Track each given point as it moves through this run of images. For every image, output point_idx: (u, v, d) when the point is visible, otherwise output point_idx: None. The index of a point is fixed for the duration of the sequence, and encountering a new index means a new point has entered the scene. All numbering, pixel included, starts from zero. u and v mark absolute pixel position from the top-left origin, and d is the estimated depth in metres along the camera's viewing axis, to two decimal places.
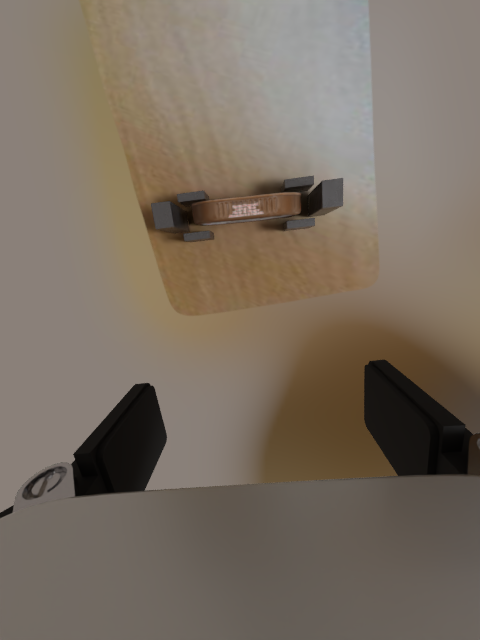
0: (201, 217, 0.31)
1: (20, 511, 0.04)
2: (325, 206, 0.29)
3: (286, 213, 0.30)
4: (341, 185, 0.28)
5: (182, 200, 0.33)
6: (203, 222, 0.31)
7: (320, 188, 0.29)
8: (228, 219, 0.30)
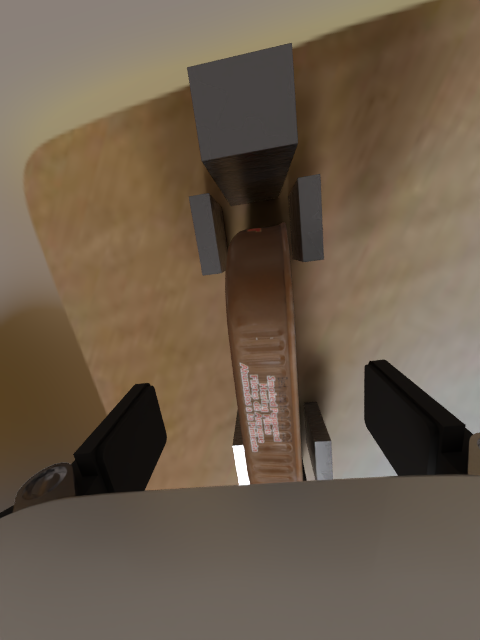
0: (243, 267, 0.09)
1: (20, 511, 0.04)
2: None
3: None
4: None
5: (301, 192, 0.11)
6: (227, 275, 0.09)
7: None
8: (234, 361, 0.10)
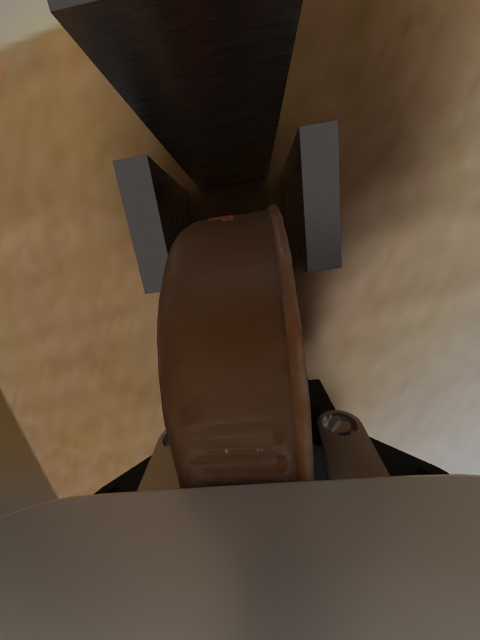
0: (194, 293, 0.04)
1: (20, 511, 0.04)
2: None
3: None
4: None
5: (305, 153, 0.06)
6: (161, 309, 0.04)
7: None
8: None
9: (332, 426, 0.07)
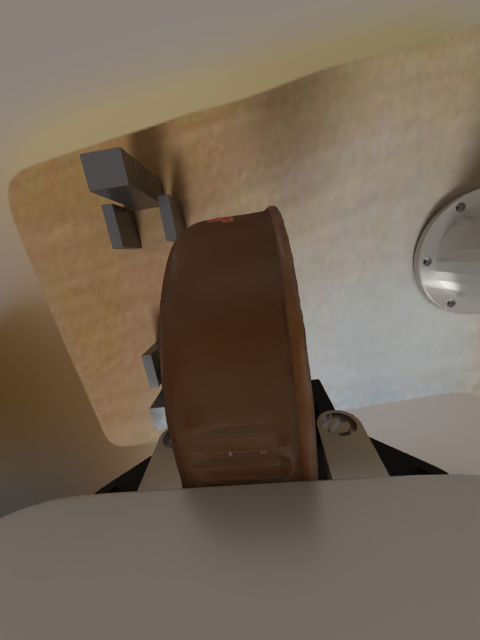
0: (195, 295, 0.04)
1: (20, 511, 0.04)
2: (152, 411, 0.23)
3: None
4: None
5: (160, 203, 0.21)
6: (163, 312, 0.04)
7: None
8: None
9: (332, 426, 0.07)
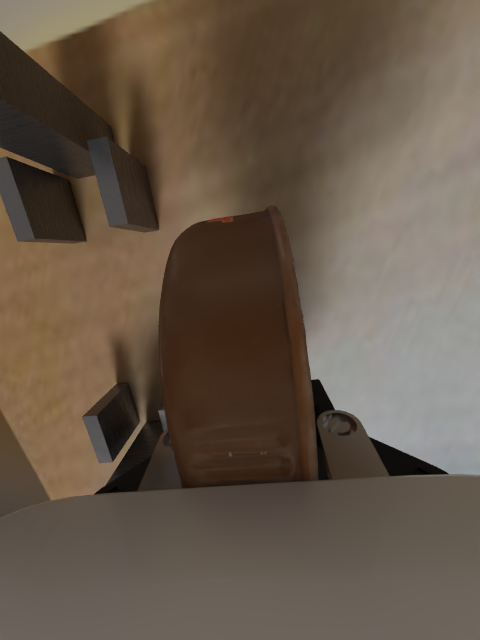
0: (195, 295, 0.04)
1: (20, 511, 0.04)
2: None
3: None
4: None
5: (93, 155, 0.11)
6: (162, 312, 0.04)
7: None
8: None
9: (332, 426, 0.07)
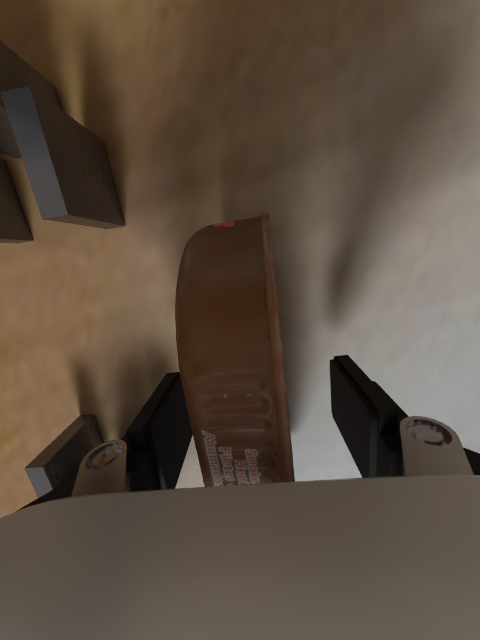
0: (202, 281, 0.06)
1: (20, 511, 0.04)
2: None
3: None
4: None
5: (11, 114, 0.08)
6: (178, 293, 0.06)
7: None
8: (194, 427, 0.06)
9: (418, 432, 0.06)
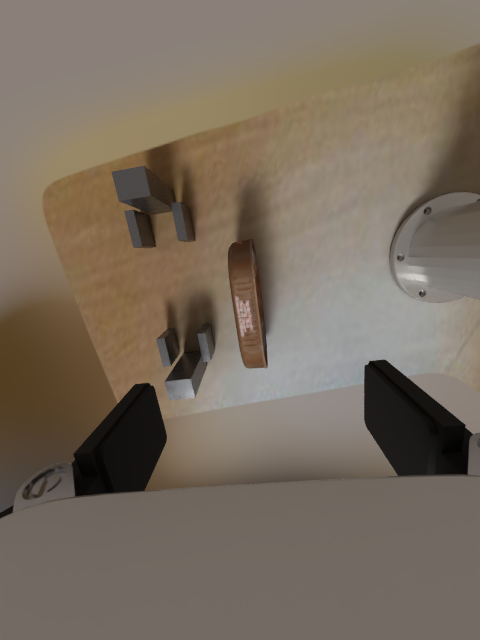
0: (235, 257, 0.24)
1: (20, 511, 0.04)
2: (166, 384, 0.27)
3: (243, 360, 0.26)
4: (188, 396, 0.27)
5: (173, 209, 0.26)
6: (228, 261, 0.24)
7: (187, 375, 0.27)
8: (233, 295, 0.24)
9: None
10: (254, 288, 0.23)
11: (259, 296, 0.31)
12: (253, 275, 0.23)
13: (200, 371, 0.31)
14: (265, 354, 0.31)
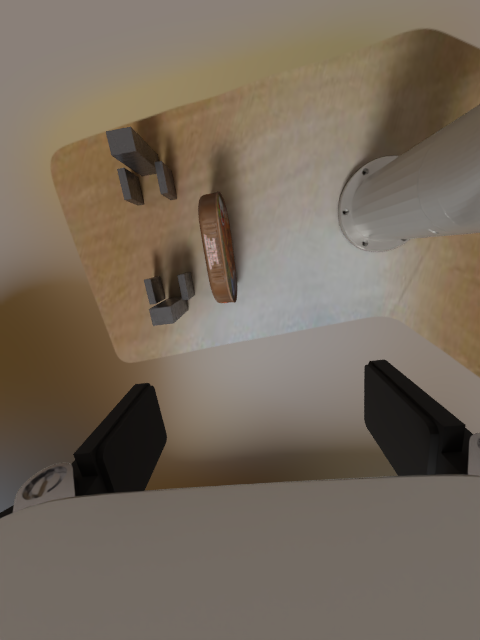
0: (203, 203, 0.30)
1: (20, 511, 0.04)
2: (150, 311, 0.33)
3: (212, 290, 0.32)
4: (168, 322, 0.33)
5: (156, 167, 0.32)
6: (199, 206, 0.30)
7: (167, 305, 0.34)
8: (202, 234, 0.30)
9: None
10: (218, 227, 0.29)
11: (230, 247, 0.38)
12: (217, 216, 0.29)
13: (180, 308, 0.37)
14: (235, 296, 0.38)
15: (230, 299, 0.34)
